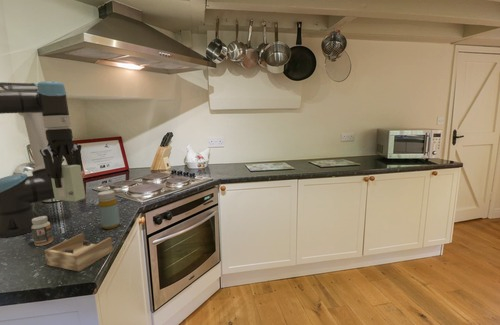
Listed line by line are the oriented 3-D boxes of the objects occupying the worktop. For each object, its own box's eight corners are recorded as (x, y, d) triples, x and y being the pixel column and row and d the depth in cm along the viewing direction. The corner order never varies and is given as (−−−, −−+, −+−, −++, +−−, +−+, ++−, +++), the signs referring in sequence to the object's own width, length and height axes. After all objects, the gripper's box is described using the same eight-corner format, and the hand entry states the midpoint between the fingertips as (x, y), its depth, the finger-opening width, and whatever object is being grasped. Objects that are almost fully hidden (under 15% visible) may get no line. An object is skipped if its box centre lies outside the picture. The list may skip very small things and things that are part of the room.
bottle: (122, 222, 120) (118, 189, 118) (115, 229, 114) (110, 194, 111) (106, 223, 120) (102, 190, 118) (98, 230, 113) (93, 195, 111)
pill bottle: (53, 243, 103) (48, 218, 101) (34, 248, 100) (29, 222, 98) (53, 238, 107) (49, 214, 106) (35, 242, 104) (30, 217, 102)
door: (52, 200, 97) (46, 167, 95) (65, 196, 102) (60, 164, 100) (73, 202, 94) (67, 167, 92) (85, 197, 98) (80, 165, 96)
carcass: (47, 264, 88) (44, 250, 87) (83, 246, 100) (81, 233, 99) (79, 271, 83) (76, 256, 82) (113, 250, 95) (111, 237, 94)
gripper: (39, 129, 85) (53, 202, 89) (88, 126, 101) (97, 188, 104) (23, 130, 87) (37, 201, 91) (73, 127, 103) (83, 187, 107)
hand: (69, 194), depth 98 cm, fingers closed on door, 4 cm apart
